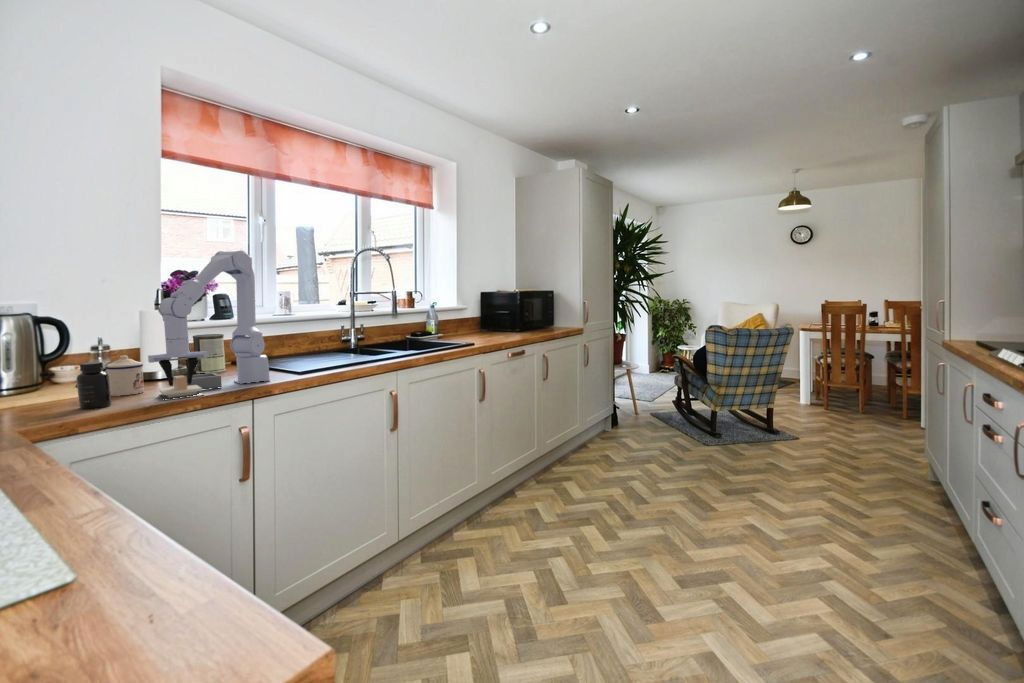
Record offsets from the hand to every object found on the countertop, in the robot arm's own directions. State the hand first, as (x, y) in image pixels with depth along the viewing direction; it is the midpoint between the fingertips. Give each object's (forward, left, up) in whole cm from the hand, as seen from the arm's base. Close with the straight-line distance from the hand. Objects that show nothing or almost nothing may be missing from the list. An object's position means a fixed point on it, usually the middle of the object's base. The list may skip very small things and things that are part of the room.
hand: (180, 384), depth 155 cm
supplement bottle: (+20, +1, -4) cm, 20 cm away
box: (-7, -9, -3) cm, 12 cm away
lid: (0, 0, -2) cm, 2 cm away
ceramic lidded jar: (+11, -17, -4) cm, 21 cm away
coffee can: (-18, -47, -4) cm, 50 cm away
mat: (0, 0, -3) cm, 3 cm away
